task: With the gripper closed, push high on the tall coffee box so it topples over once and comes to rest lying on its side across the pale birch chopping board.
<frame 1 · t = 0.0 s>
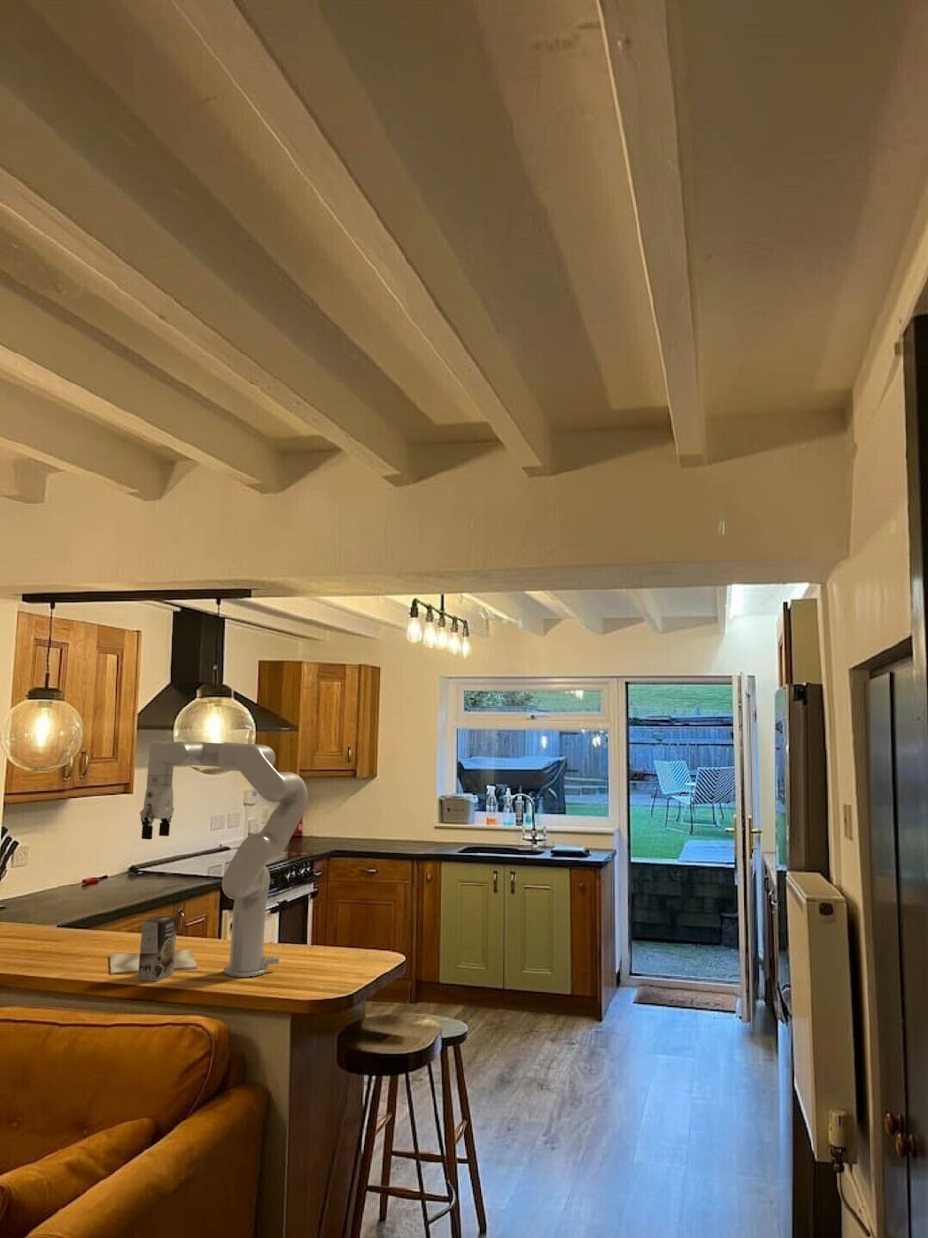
hand: (155, 837, 269), 37 cm above the countertop, tool pointing down, fingers open, 9 cm apart
birch board: (152, 962, 265), on the countertop
coffee box: (155, 977, 250), on the countertop
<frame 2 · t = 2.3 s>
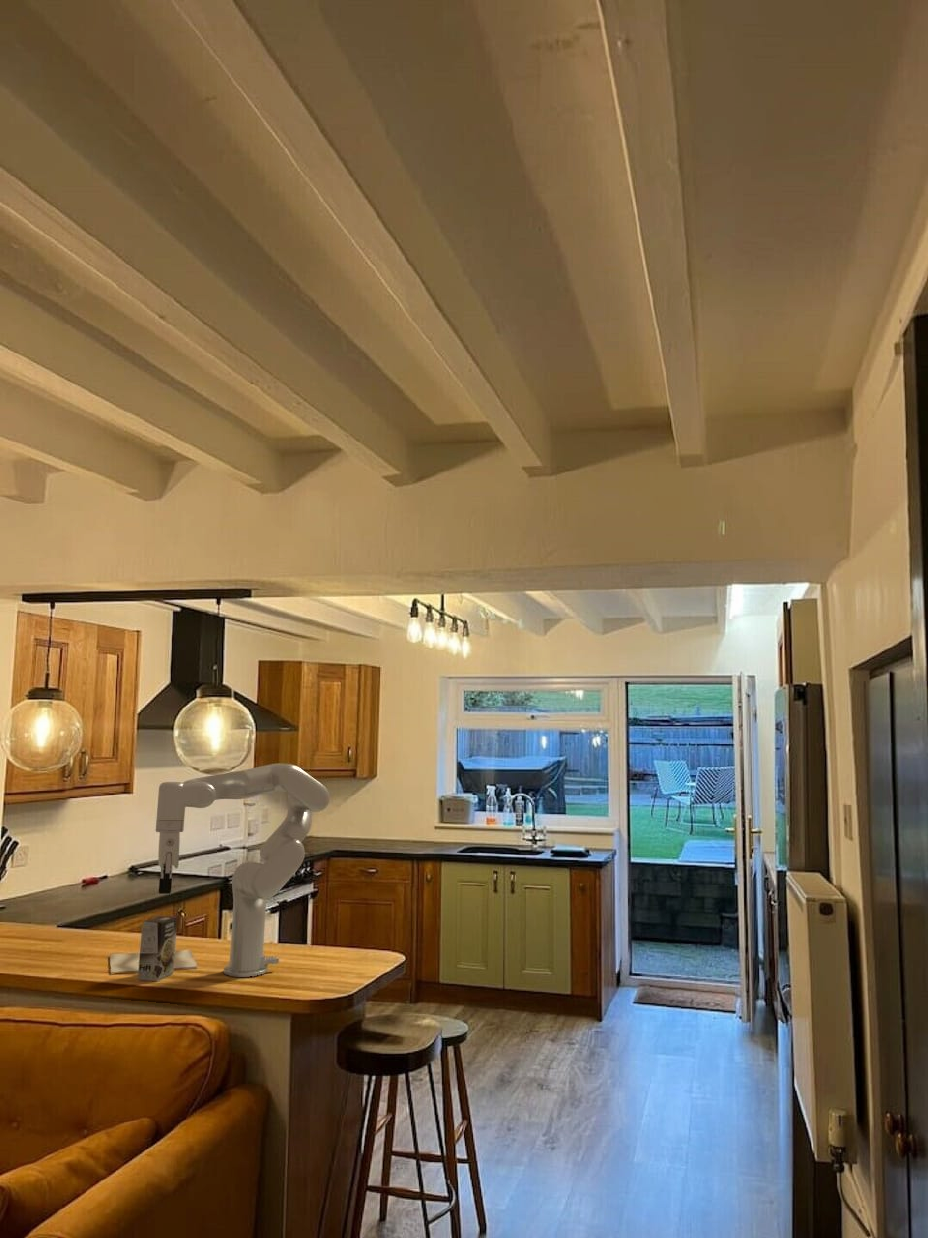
hand: (164, 893, 244), 25 cm above the countertop, tool pointing down, fingers closed
nothing on the countertop moved.
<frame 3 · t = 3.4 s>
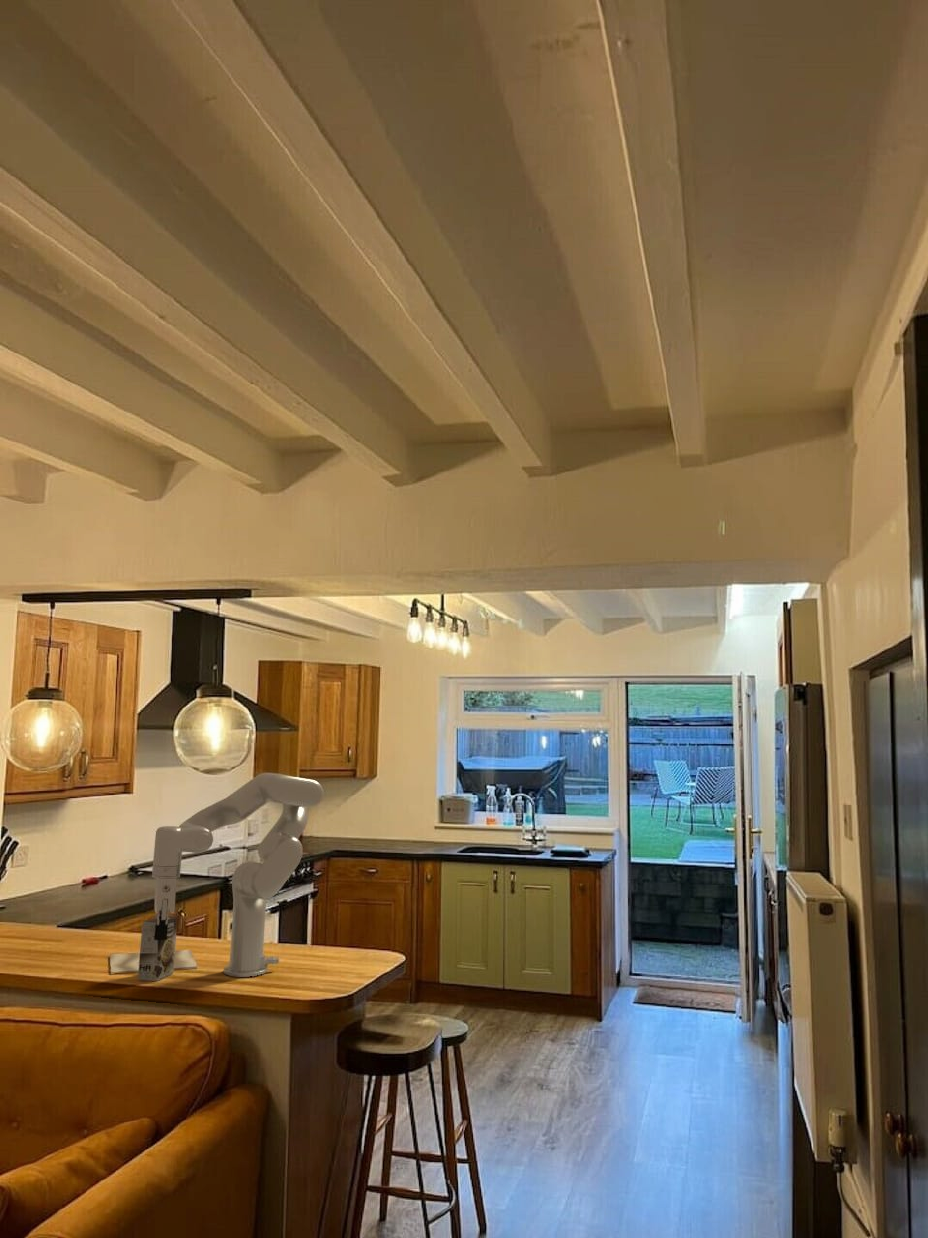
hand: (160, 939, 242), 12 cm above the countertop, tool pointing down, fingers closed
nothing on the countertop moved.
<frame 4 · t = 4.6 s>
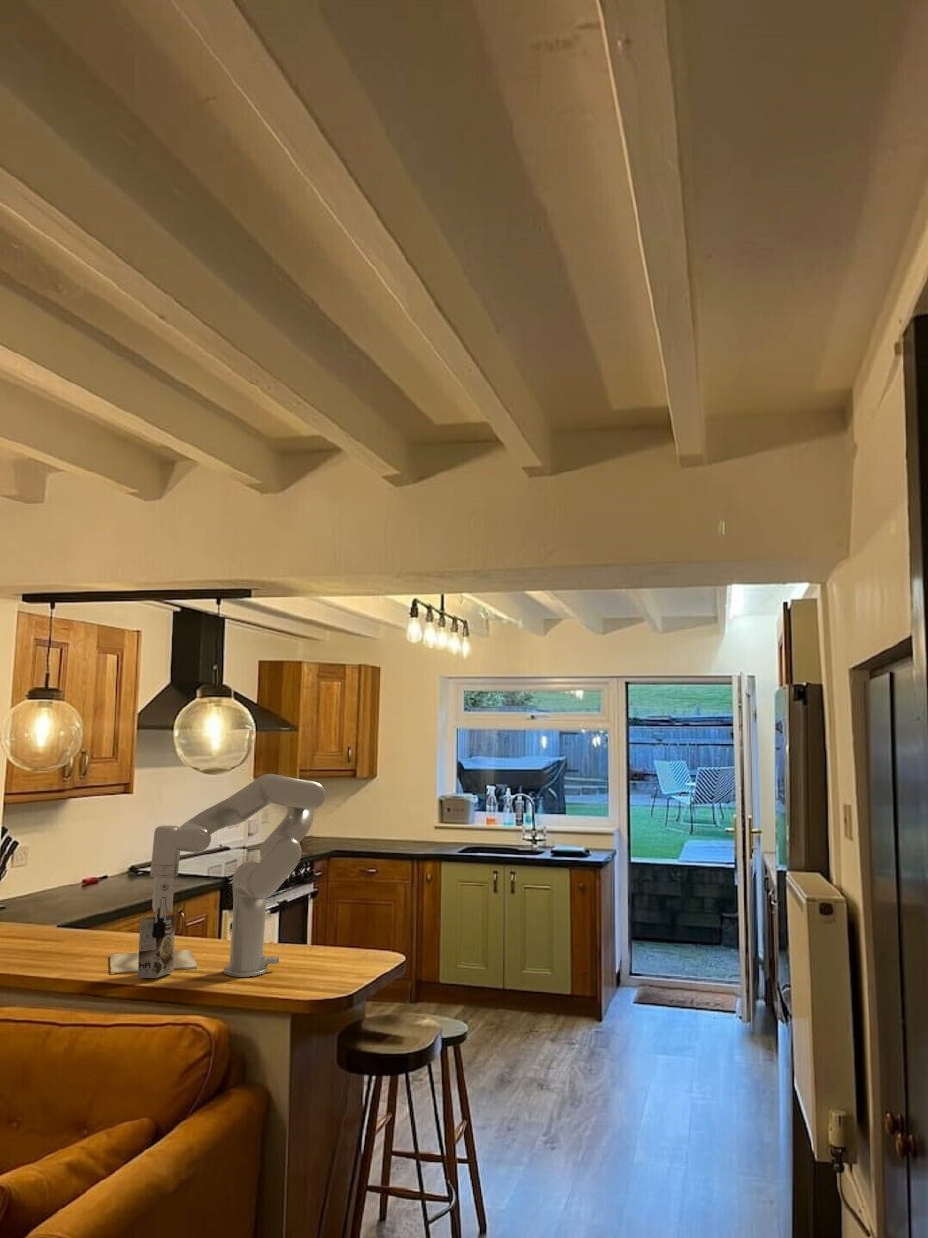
hand: (158, 937, 245), 12 cm above the countertop, tool pointing down, fingers closed
coffee box: (156, 976, 250), on the countertop, touching gripper
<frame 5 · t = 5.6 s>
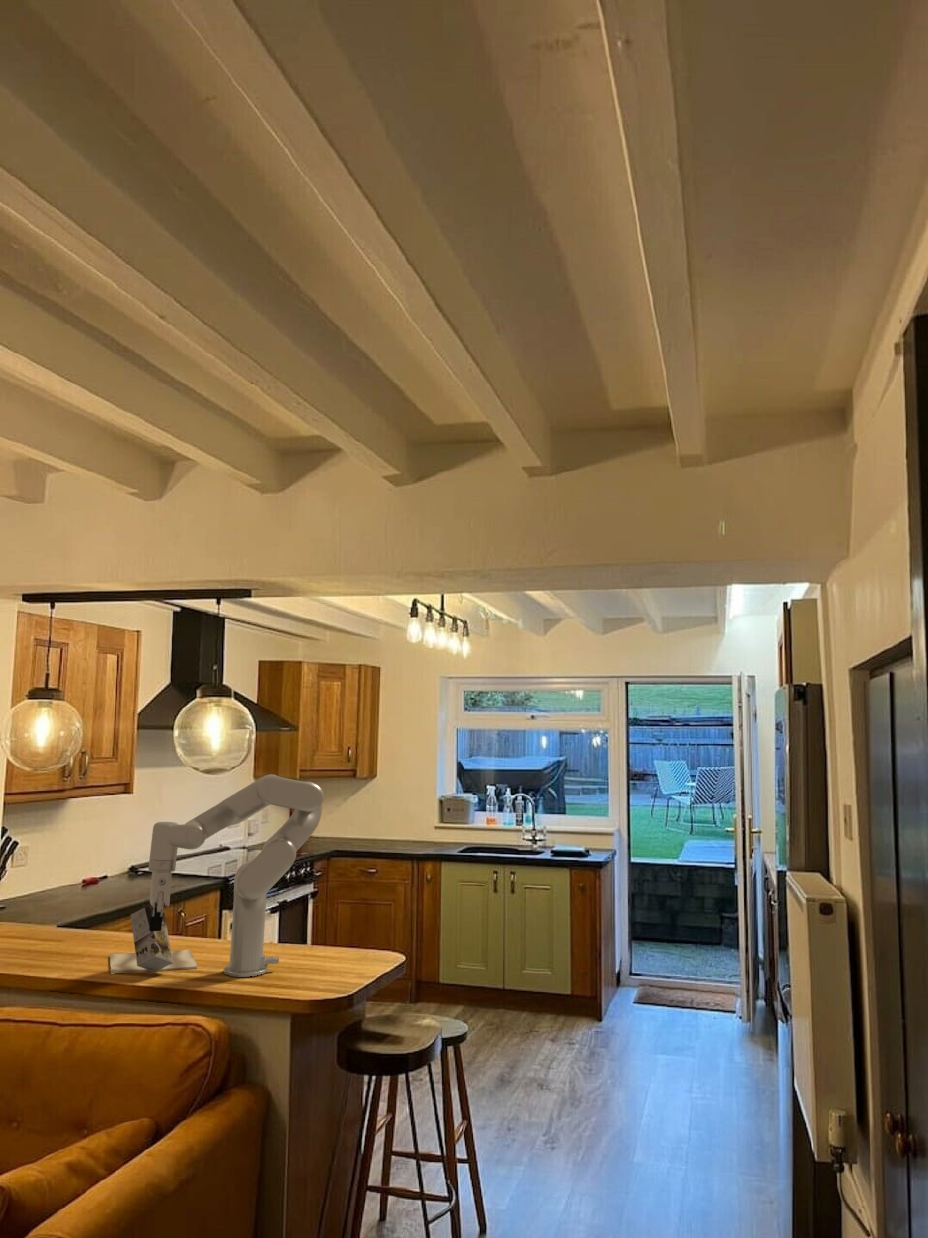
hand: (155, 930, 252), 13 cm above the countertop, tool pointing down, fingers closed
coffee box: (155, 965, 251), point 3 cm above the countertop, touching gripper
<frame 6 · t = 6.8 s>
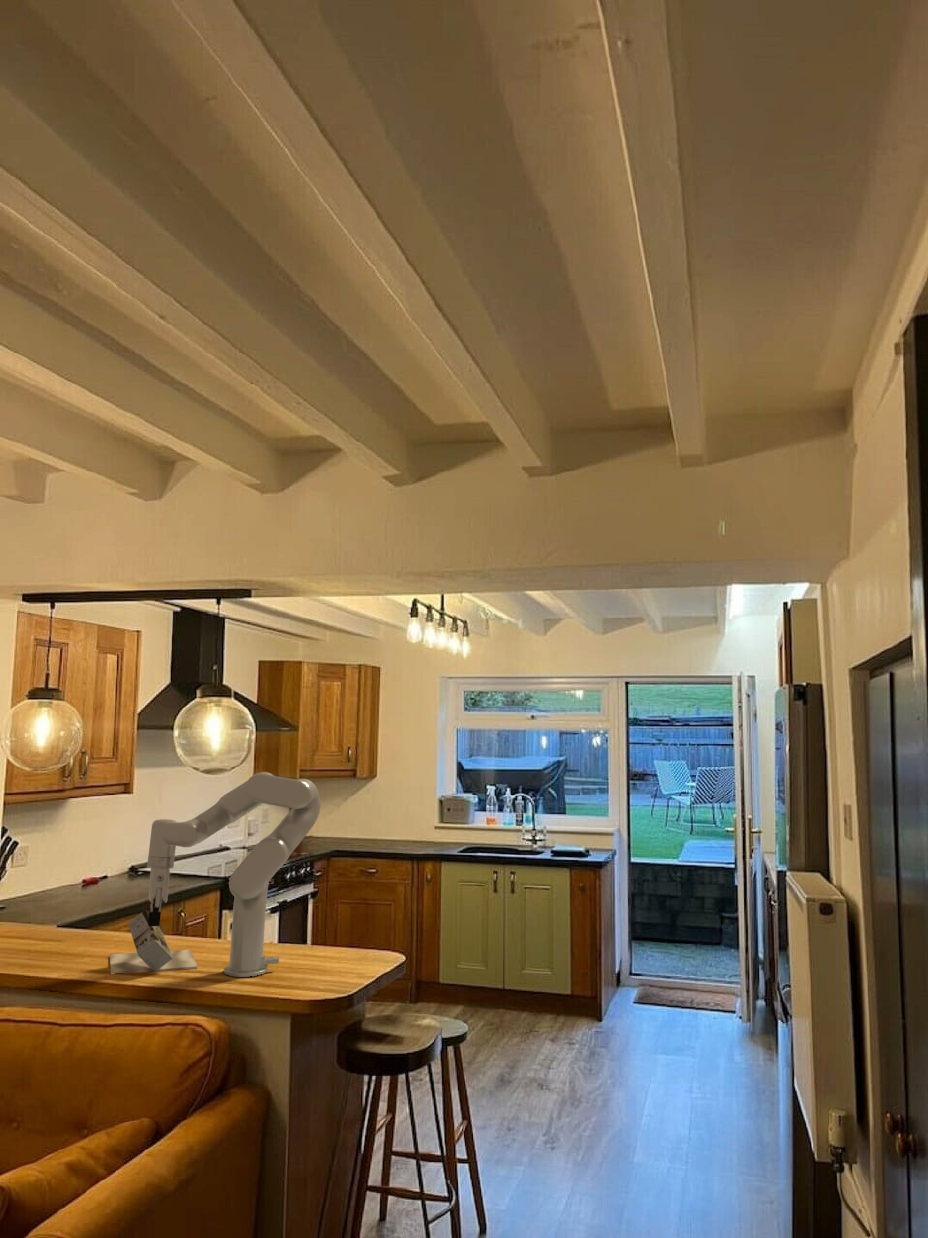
hand: (153, 925, 258), 13 cm above the countertop, tool pointing down, fingers closed
coffee box: (155, 957, 253), point 5 cm above the countertop, touching birch board, gripper
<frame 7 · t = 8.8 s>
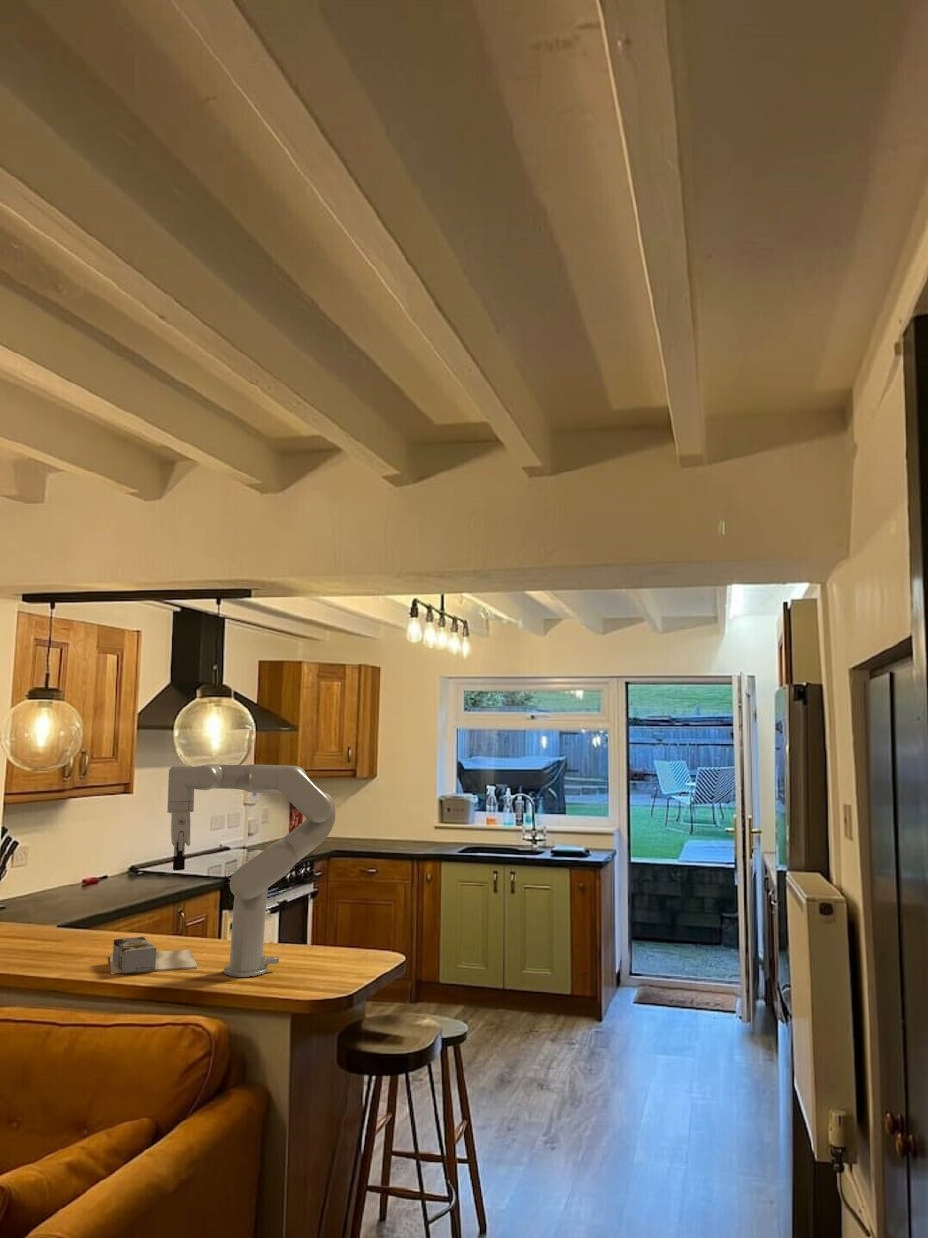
hand: (178, 869, 260), 29 cm above the countertop, tool pointing down, fingers closed
coffee box: (140, 960, 253), point 4 cm above the countertop, touching birch board
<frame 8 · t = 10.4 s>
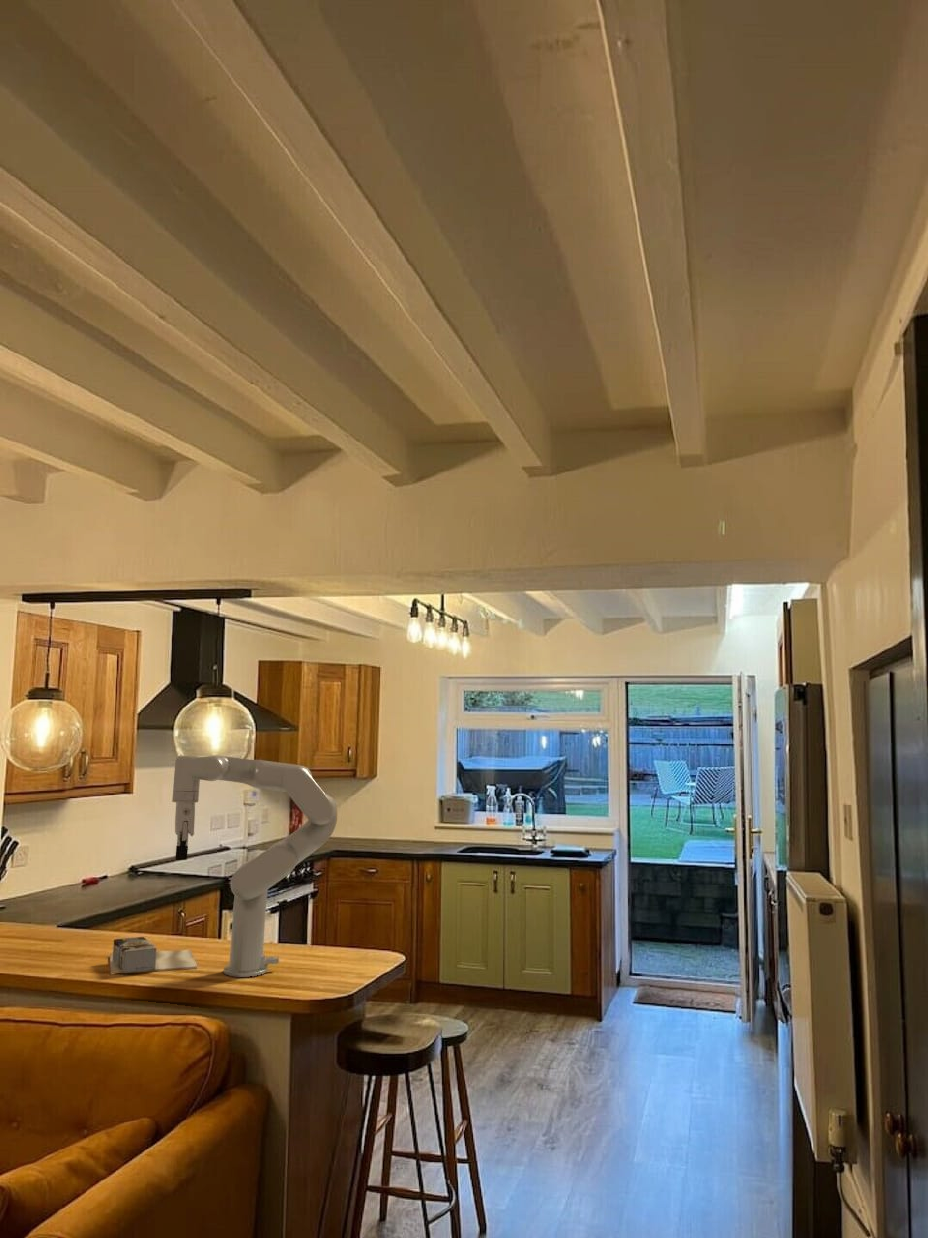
hand: (181, 859, 260), 32 cm above the countertop, tool pointing down, fingers closed
nothing on the countertop moved.
at the end: coffee box tilted 90°; coffee box touching birch board; the gripper is holding nothing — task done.
